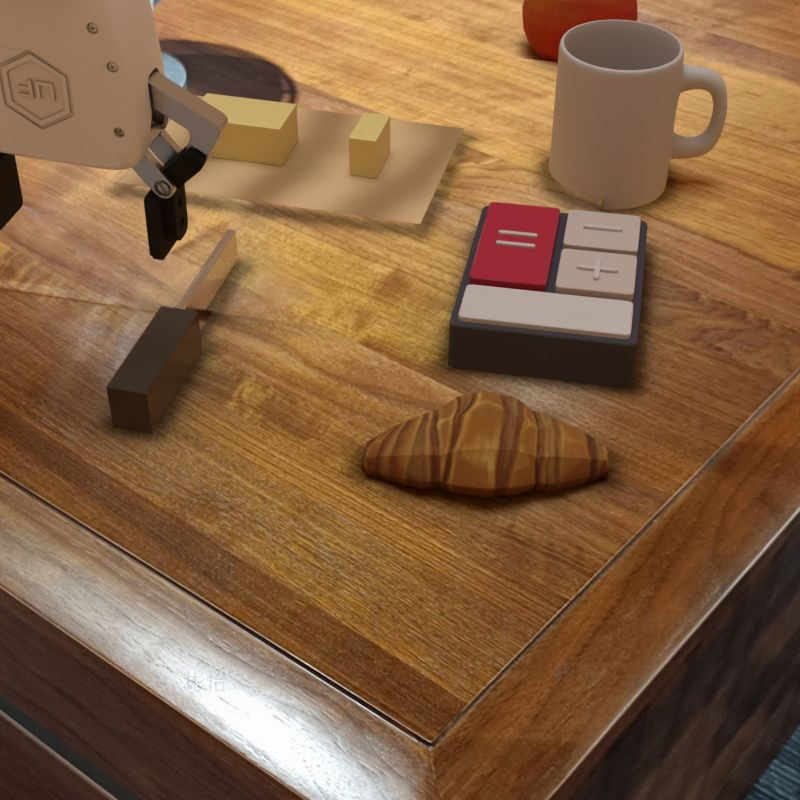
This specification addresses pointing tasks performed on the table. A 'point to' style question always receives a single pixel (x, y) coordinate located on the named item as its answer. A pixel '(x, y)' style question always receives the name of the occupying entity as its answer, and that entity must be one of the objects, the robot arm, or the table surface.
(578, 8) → the fruit
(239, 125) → the butter stick
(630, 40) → the mug
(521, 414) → the croissant
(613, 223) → the calculator
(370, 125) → the butter pat
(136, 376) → the knife
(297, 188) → the butter wrapper
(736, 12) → the table surface
